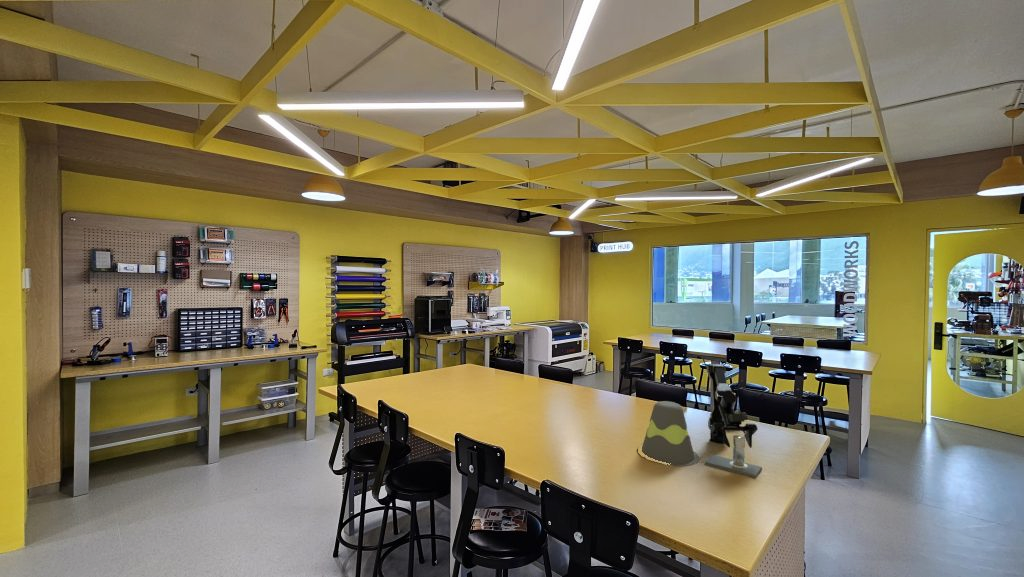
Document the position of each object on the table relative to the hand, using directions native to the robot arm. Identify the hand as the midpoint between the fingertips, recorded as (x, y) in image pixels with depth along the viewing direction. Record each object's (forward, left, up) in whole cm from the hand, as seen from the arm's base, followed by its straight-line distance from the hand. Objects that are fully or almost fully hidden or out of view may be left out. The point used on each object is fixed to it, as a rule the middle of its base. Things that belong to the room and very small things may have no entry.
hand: (740, 447), depth 183 cm
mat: (-3, 0, -9) cm, 10 cm away
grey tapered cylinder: (-30, -5, -10) cm, 32 cm away
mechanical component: (-20, +58, -10) cm, 62 cm away
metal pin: (-1, +1, -8) cm, 8 cm away
